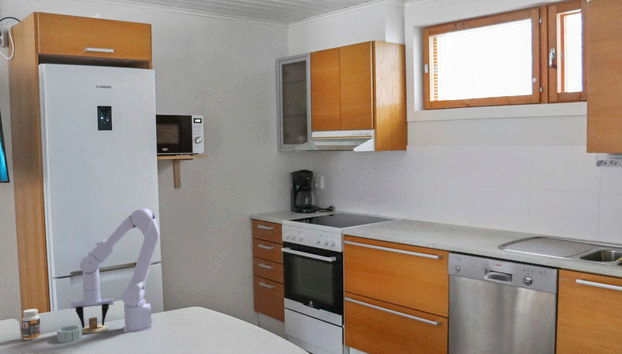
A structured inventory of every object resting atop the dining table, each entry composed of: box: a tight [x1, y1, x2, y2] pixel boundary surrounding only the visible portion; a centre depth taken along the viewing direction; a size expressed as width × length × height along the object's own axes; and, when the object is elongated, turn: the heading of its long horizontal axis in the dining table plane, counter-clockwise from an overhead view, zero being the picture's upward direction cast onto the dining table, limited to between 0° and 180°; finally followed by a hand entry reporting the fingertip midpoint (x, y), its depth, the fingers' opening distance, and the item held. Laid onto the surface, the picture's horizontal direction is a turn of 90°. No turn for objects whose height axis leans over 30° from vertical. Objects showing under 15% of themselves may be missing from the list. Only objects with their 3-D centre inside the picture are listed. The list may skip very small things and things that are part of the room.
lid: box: [82, 316, 107, 335], centre depth 219 cm, size 9×9×4 cm
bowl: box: [56, 325, 83, 343], centre depth 209 cm, size 8×8×4 cm
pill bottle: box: [21, 308, 41, 341], centre depth 212 cm, size 6×6×10 cm
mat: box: [82, 327, 109, 336], centre depth 219 cm, size 10×10×1 cm
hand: (93, 326), depth 219 cm, fingers open, 6 cm apart
